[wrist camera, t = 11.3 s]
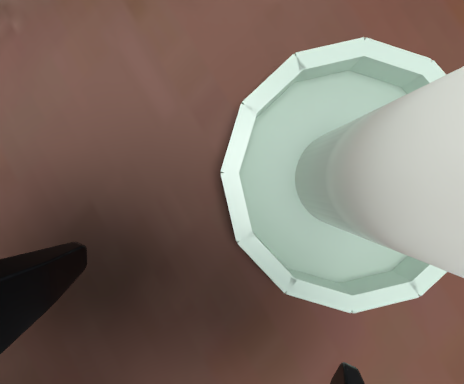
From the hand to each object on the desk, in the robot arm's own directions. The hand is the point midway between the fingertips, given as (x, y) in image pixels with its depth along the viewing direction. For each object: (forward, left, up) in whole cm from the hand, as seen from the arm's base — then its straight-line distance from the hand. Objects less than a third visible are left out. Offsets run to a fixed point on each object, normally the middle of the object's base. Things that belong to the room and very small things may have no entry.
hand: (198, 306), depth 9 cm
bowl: (+9, -3, -10) cm, 14 cm away
